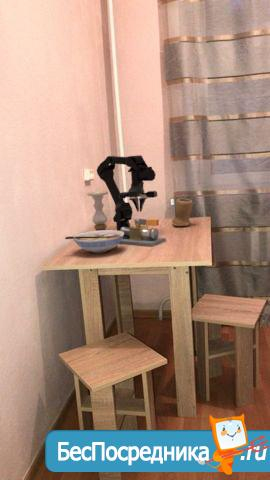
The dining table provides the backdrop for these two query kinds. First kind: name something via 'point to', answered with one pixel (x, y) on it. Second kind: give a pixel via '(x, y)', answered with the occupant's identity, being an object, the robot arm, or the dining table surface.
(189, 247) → the dining table surface
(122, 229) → the valve assembly
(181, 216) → the stone cup
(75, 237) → the ramen bowl
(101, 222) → the candle holder
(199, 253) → the dining table surface
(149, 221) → the valve lever
